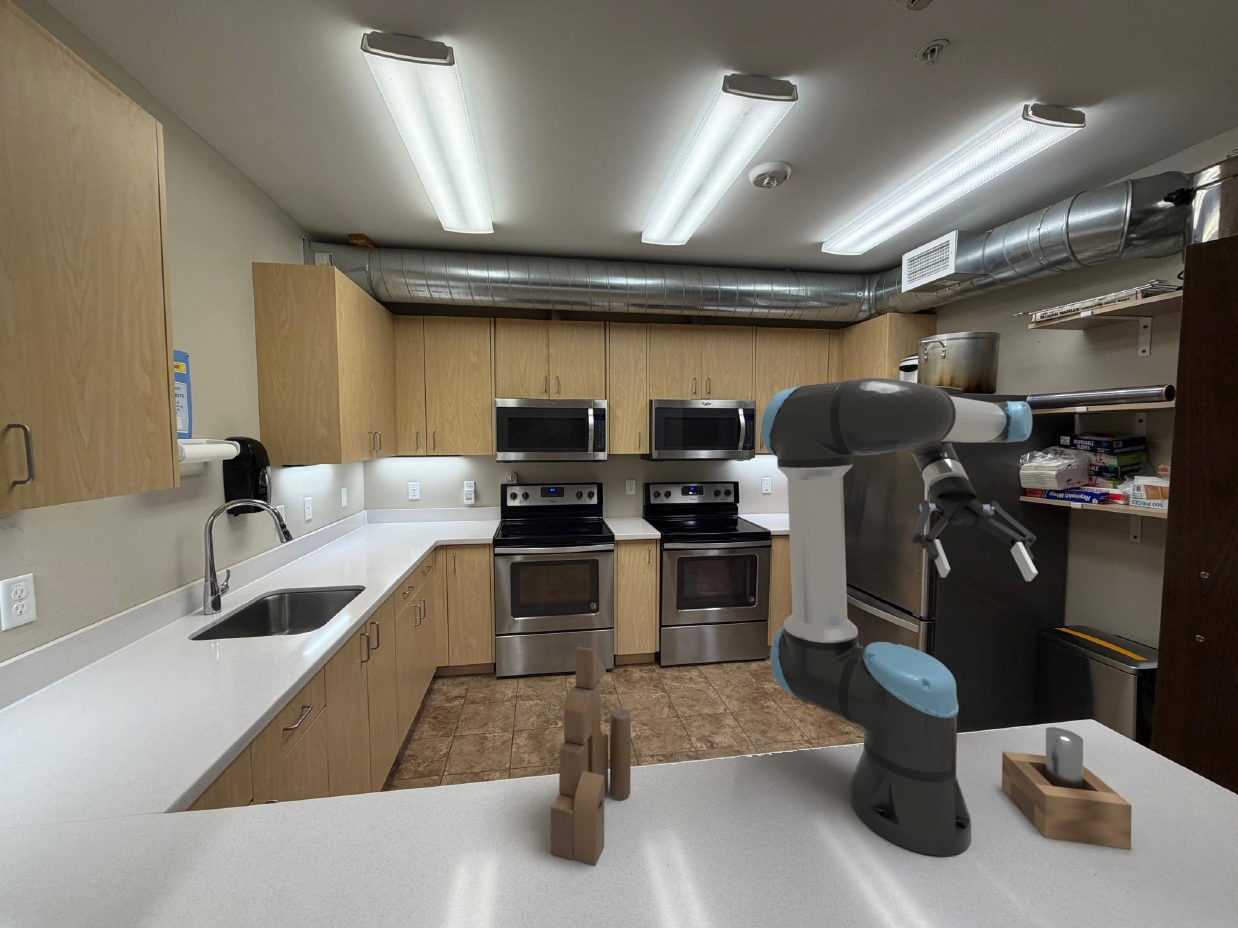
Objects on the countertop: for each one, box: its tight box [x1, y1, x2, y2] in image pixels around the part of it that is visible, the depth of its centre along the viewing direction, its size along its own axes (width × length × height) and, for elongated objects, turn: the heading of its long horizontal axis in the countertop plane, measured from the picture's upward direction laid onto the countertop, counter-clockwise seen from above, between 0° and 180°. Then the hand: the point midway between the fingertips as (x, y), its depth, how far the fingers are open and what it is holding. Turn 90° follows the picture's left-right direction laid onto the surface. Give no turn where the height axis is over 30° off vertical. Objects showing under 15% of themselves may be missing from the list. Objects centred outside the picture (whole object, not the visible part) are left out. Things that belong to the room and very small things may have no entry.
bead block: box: [1001, 751, 1133, 850], centre depth 70 cm, size 10×10×6 cm
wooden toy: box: [550, 646, 632, 866], centre depth 69 cm, size 15×7×25 cm, turn 161°
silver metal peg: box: [1045, 726, 1084, 790], centre depth 70 cm, size 4×4×12 cm
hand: (988, 575), depth 85 cm, fingers open, 13 cm apart
